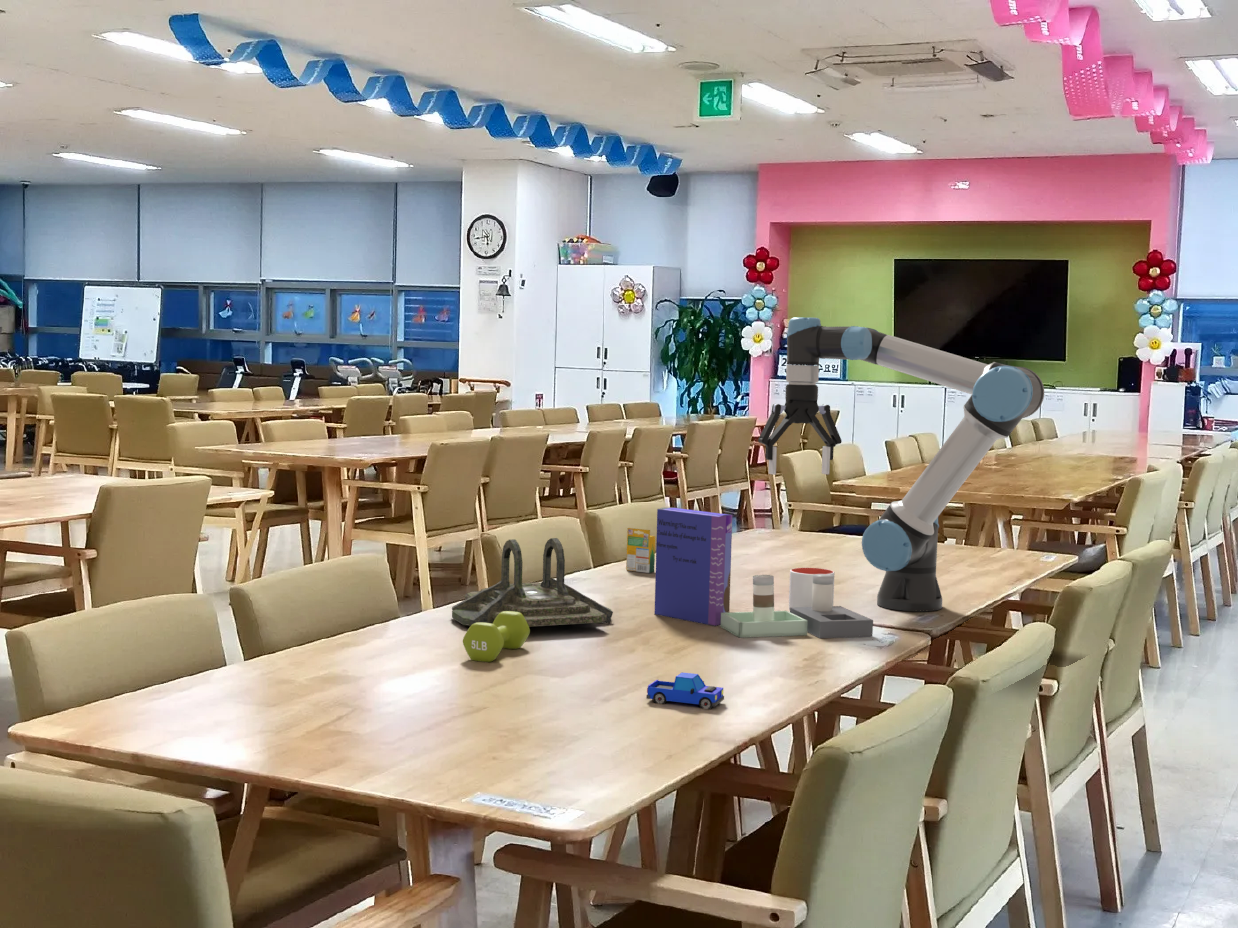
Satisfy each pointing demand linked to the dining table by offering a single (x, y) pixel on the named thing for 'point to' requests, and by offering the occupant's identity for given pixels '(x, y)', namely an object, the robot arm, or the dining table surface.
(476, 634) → the dumbbell
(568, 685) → the dining table surface
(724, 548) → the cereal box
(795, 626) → the parts tray
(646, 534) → the crayon box
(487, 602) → the metal base with loops
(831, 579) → the fuse holder block
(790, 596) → the cup
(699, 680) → the toy car
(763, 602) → the cylinder
